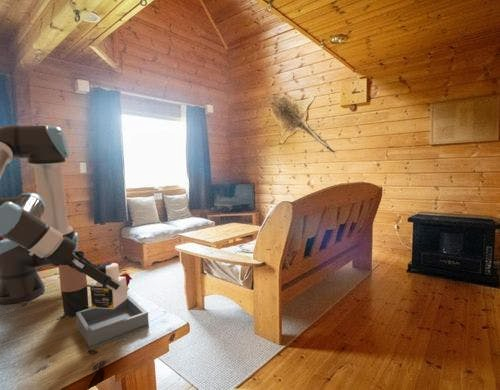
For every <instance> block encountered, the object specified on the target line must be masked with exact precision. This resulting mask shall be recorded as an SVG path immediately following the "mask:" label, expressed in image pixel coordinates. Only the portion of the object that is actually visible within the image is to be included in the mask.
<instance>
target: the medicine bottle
mask: <svg viewBox="0 0 500 390" xmlns="http://www.w3.org/2000/svg"><path fill="white" fill-rule="evenodd" d="M119 267H120V266H119V264H118V263H117V262H116V263H115V262H105V263H101V264H99V266H98V267H97V269H98V270H100V271H101V272H103V273H104V274H106V275H108V276H110V277H112V278H114V279H115V280H117V281H119V282H120V283H122V284H123V285H125V286H127V285H126V277H119V276H120V268H119ZM89 285H90V287H89V290H90V300H91V308H100V309H114V308H116V307H117V306H118V305H120V304H121V303H122V302H124V301H125V300H126V299H127V297H128V291H127V292H126V293H125V295H124V296H121V295H119V294H118V293H116V292H114V291H113V290H111V289H109V288H108V287H104V288H102V286H103V285H102V284H100V283H99V282H97V281H94V282H93V283H91V284H89Z"/></svg>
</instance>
